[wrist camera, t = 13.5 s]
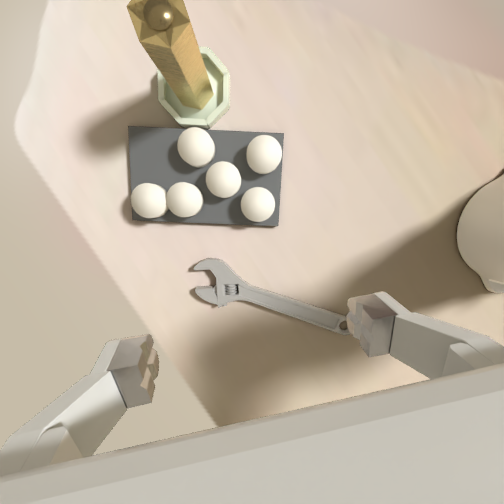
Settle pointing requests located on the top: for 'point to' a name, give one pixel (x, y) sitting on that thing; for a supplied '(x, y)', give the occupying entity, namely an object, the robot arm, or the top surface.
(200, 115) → the dish
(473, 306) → the top surface
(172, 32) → the coupling nut
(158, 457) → the robot arm
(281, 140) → the mat
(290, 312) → the adjustable wrench
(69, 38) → the top surface
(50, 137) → the top surface
